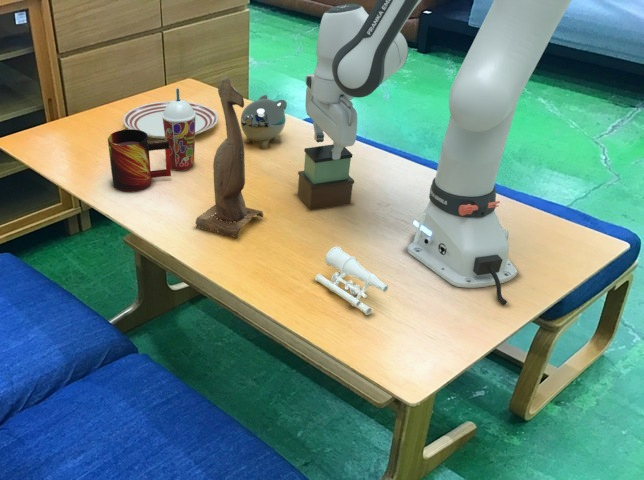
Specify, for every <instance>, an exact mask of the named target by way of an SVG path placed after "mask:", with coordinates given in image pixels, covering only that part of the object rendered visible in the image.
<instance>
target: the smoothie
mask: <svg viewBox="0 0 644 480" xmlns="http://www.w3.org/2000/svg"><path fill="white" fill-rule="evenodd" d="M175 90H176V91H175V92H176V99H173V100H171V102H170V103H169V104H168V105H167V106H166V108H165V110H164V113H163V114H162V118H163V126H164V133H165V139H164V140H165V141H169V154H170V164H171V170H174V171H179V172H180V171H187V170H189V169H191V168H192V167H193V164H194V163H195V153H196V152H195V151H196V149H195V147H196V145H195V144H196V135H195V116H196V113H195V112H194V110H193V108H192V106H191V105H190V104H189V103H188V102H189V101H186V100H184V99H180V88H176V89H175Z"/></svg>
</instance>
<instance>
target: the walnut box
mask: <svg viewBox="0 0 644 480" xmlns="http://www.w3.org/2000/svg"><path fill="white" fill-rule="evenodd" d="M297 175H298V183H297V184H298V186H297V196H298V197H299V199H300V200H301V201H302V202H303V203H304V205H305V206H306V207H307V209H308V210H309V211H314V210H315V211H316V210H323V209H327V208H334V207H335V208H336V207H340V206H347V205H351V201H352V192H353V186H354V184H355V180H354V179H353V177H351V176H350V175H349V177H348V179H344V180H338V181H331V182H324V183H317V184H313V183H312V182H311V181H310V179H309V178H308V177H307V176H306V175H305V174H304V170H298V171H297Z"/></svg>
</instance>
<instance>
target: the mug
mask: <svg viewBox="0 0 644 480" xmlns="http://www.w3.org/2000/svg"><path fill="white" fill-rule="evenodd" d="M107 145H108V153H109V163H110V170H111V178H112V179H111V180H112V187H113V188H114V189H115V190H117V191H119V192H123V193H137V192H141V191H144V190H146V189H148V188H149V187H150V186H151V185H152V179H154V178H155V179H156V178H163V177H172V168H171V164H170V154H169V141H156V142H149V137H148V135H147V133H145V132H143V131H140V130H134V129H128V128H127V129H120V130H117V131H114V132H112V133H111V134H109V135H108V136H107ZM160 150H164V151H165V152H164V153H165V168H163V169H156V170H151V159H150V152H151V151H160Z"/></svg>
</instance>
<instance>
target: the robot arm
mask: <svg viewBox="0 0 644 480" xmlns="http://www.w3.org/2000/svg"><path fill="white" fill-rule="evenodd" d="M422 1H423V0H376V2H375V4H374V6H373V7H372V8H371V10H370V13H369V14H368V13H367V11H366V10H365V8H364V7H363V6H362V5H360V4H358V3H344V4H343V3H342V4H340V5H335V6H333V7H331V8H329V9H328V10H326V11H325V12H324V13H323V15H322V17H321V21H320V24H319V30H318V35H317V44H316V51H315V52H316V58H317V62H316V65H315V68H314V73H311V74H306V76H305V86H306V90H305V112H306V113H305V114H306V115H307V116H308V117H309V118H310V119H311V120H312V121H313V122H312V126H313V132H314V135H313V136H314V139H313V140H314V141H315V142H316V143H323V142H324V141H325V135H326V136H328V138H329V139H330V140H331V141H332V144H333V145H334V148H333V150H331V154H330V157H331V158H332V159H333V160H337V159H340V156H341V151H342V150H343V148H344V147H345V148H347V147H352V146H354V145H355V144H356V141H357V133H358V113H357V110H356V108H355V107H354V104H353V102H352V101H353V99H354V98H358V99H359V98H364V97H368V96H369V95H371V94H372V93H374V92H375V91H376V90H377V88H379V87H380V85H381V86H382V84H383V83H385V82H386V81H388V80H389V79H390V78H391V77H393V76H394V75H396V73H398V72H399V71H400V70H401V69H402V68H403V67H404V66H405V64H406V62H407V60H408V56H409V44H408V41H407V39H406V37H405V35H404V34H403V32H401V31H402V29H403V28H404V26H405V25H406V23H407V21H408V20H409V18H410V16H411V15H412V13H413V12H414V11H415V9H416V8H417V7H418V5H419V4H420V3H421V2H422ZM572 1H573V0H493V1H492V3H491V6H490V7H489V9H488V12H487V14H486V15H485V18H484V20H483V22H482V24H481V26H480V28H479V29H478V31H477V34H476V36H475V38H474V39H473V42H472V44H471V45H470V48H469V49H468V52H467V54H466V56H465V57H464V60H463V61H462V64H461V66H460V68H459V70H458V72H457V74H456V76H455V78H454V80H453V82H452V84H451V86H450V88H449V94H448V109H449V113H450V116H449V119H448V123H447V127H446V130H445V134H444V137H443V140H442V145H441V150H440V152H439V153H440V154H439V159H438V164H437V169H436V174H435V176H434V177H433V179H432V182H431V184H430V188H429V195H428V199H429V201H428V203H427V205H426V207H425V209H424V211H423V212H422V214H421V215H420V218H419V222H418V221H417V220H413V225H414V227H416V232H415V234H414V238H413V241H412V242H411V243H410V244H409V245H408V246H407V249H406V252H407V253H408V254H409V255H411V256H412V257H414V258H415V259H416V260H417V261H419V262H420V263H421V264H423V265H425V266H426V267H427V268H429V269H430V270H431V271H433V272H434V273H435V274H436V275H438V276H439V277H441V278H442V279H444V280H445V281H446V282H448V283H449V284H450V285H452V286H454V287H458V288H467V289H468V288H470V289H473V288H486V287H492V286H495V288H496V297H497V300H498V301H499V303H501V304H502V305H507V304H508V303H507V300H506V299H504V297H503V295H502V284H504V283H507V282H509V281H511V280H513V279H514V278H515V277H516V276H517V274H518V270H517V268H516V267H515V266H514V264H513V263H512V261H511V260H510V259H509V250H510V245H509V241H508V240H509V238H510V234H509V231H508V230H507V229H503V227H502V225H501V222H500V220H499V218H498V215H497V214H496V213H497V212H496V208H497V207H500V205H499V204H500V203H501V201H500V200H498V201H497V192H496V190H497V187H496V181H497V177H498V174H499V171H500V167H501V163H502V159H503V155H504V152H505V148H506V144H507V142H508V138H509V133H510V130H511V128H512V124H513V120H514V116H515V113H516V109H517V106H518V102H519V98H520V96H522V93H523V91H524V90H525V87H526V85H527V84H528V81H529V80H530V78H531V76H532V74H533V72H534V71H535V69H536V67H537V66H538V63H539V61H540V59H541V58H542V56H543V54H544V52H545V50H546V48H547V47H548V44H549V42H550V41H551V39H552V37H553V35H554V34H555V31H556V29H557V27H558V25H559V24H560V22H561V20H562V18H563V17H564V15H565V13H566V12H567V10H568V9H569V7H570V4H571V2H572Z"/></svg>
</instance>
